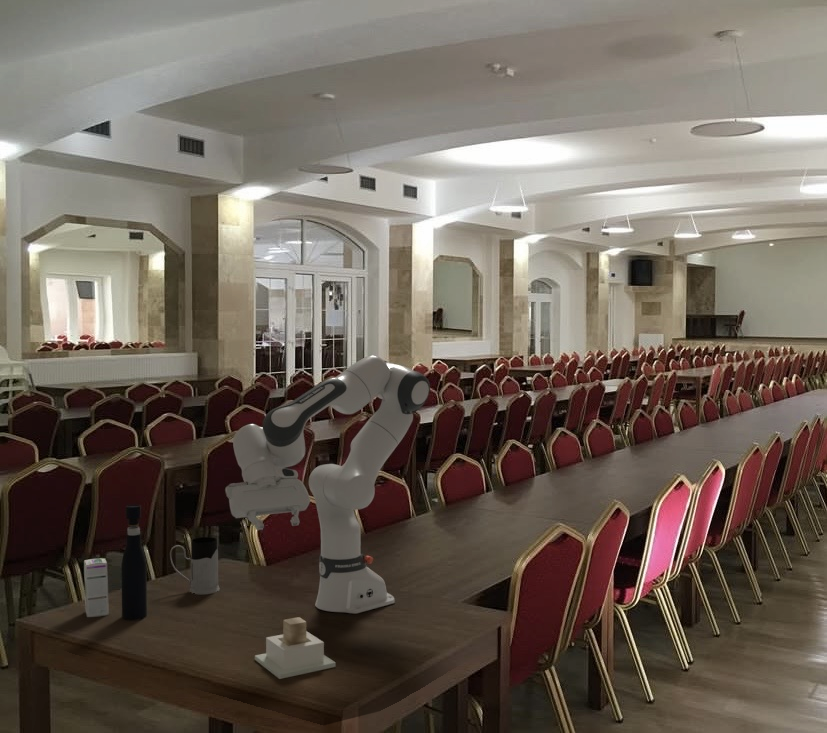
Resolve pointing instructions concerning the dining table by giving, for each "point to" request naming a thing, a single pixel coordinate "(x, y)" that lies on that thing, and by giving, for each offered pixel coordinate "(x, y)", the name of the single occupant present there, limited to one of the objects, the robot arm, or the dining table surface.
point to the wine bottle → (134, 570)
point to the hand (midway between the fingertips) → (278, 526)
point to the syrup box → (96, 587)
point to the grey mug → (202, 565)
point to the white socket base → (294, 657)
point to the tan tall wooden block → (294, 631)
